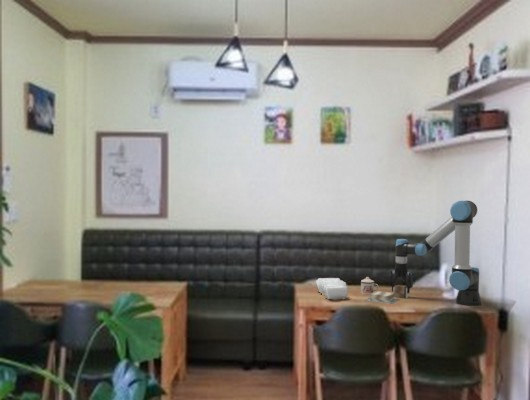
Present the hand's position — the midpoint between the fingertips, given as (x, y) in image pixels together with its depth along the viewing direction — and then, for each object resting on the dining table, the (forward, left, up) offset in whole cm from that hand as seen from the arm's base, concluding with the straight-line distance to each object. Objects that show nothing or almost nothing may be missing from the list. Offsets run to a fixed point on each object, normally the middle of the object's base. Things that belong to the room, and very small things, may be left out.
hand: (400, 297), depth 361 cm
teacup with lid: (+21, +1, 0) cm, 21 cm away
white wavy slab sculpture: (+40, +21, -1) cm, 45 cm away
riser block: (+7, +16, 0) cm, 17 cm away
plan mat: (+7, +16, 0) cm, 17 cm away
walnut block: (0, 0, 0) cm, 0 cm away
